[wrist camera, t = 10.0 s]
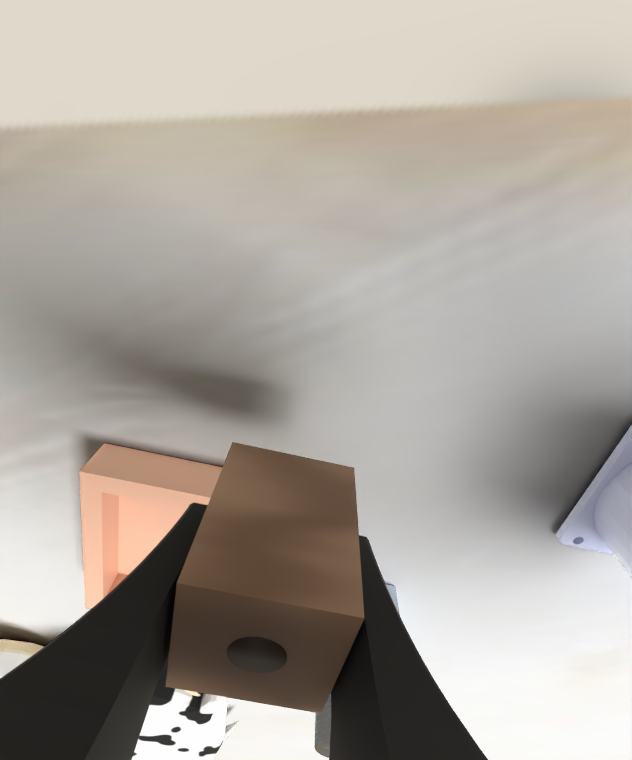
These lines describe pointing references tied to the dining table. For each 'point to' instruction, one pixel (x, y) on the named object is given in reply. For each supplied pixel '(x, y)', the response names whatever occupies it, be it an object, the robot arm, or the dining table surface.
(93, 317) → the dining table surface
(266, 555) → the walnut block
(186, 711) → the toy
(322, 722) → the pin
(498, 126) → the dining table surface
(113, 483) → the tray
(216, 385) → the dining table surface
